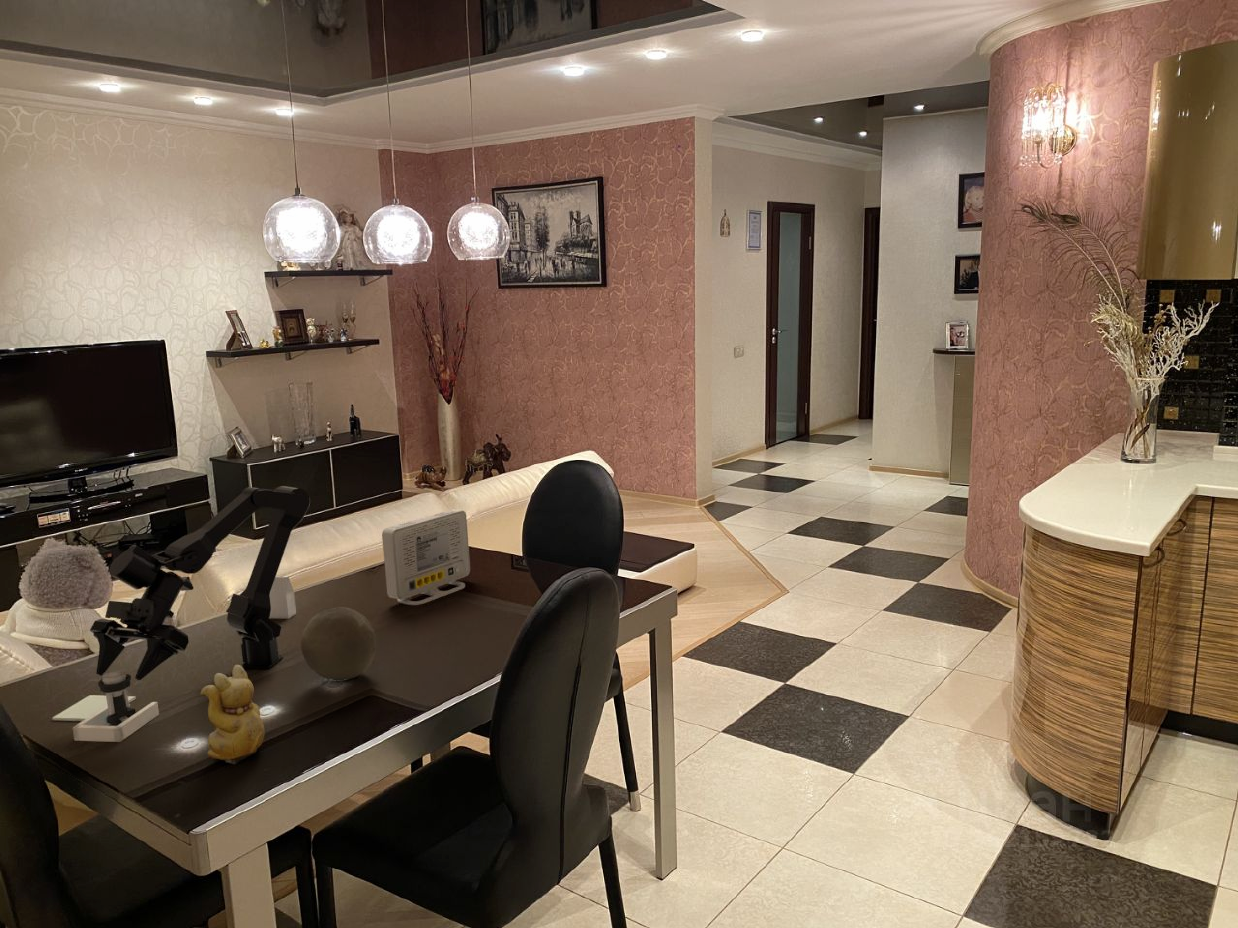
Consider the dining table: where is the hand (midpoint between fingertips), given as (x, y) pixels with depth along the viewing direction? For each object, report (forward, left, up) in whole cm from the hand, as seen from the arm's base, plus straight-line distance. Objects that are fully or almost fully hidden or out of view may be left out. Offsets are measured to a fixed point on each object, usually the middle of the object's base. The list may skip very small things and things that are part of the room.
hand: (117, 677), depth 169 cm
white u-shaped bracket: (0, +2, -9) cm, 9 cm away
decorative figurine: (-29, +10, -9) cm, 32 cm away
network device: (-32, -77, -9) cm, 84 cm away
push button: (0, +2, -9) cm, 9 cm away
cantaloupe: (-33, -21, -9) cm, 40 cm away
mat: (+10, -5, -9) cm, 15 cm away
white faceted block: (+1, -59, -9) cm, 60 cm away
